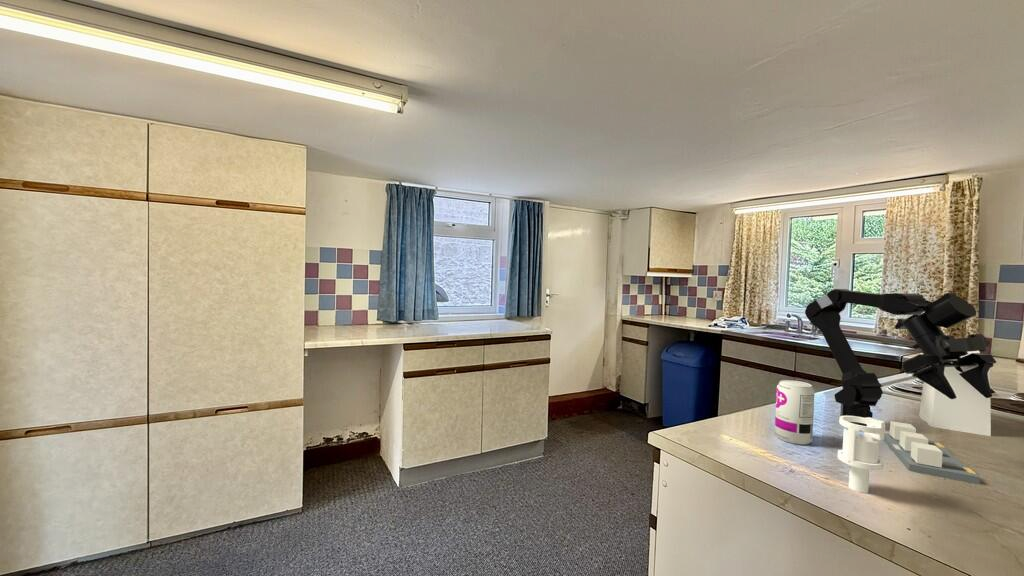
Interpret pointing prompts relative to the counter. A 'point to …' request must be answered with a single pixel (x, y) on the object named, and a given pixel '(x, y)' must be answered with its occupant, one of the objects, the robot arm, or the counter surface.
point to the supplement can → (794, 412)
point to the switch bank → (949, 466)
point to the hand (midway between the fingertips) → (971, 398)
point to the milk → (957, 406)
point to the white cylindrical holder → (861, 449)
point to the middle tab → (911, 439)
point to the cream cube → (900, 429)
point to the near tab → (926, 454)
